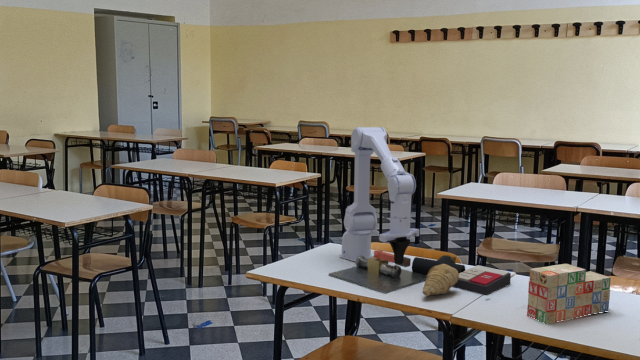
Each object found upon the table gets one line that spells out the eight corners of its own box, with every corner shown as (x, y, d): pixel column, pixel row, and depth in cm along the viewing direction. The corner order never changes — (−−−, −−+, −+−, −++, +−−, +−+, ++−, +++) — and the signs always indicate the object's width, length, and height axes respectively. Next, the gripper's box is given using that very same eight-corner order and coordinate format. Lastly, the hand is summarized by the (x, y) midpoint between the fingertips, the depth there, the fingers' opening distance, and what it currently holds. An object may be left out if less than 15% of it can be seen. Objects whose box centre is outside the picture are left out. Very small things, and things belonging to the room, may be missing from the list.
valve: (328, 275, 179) (328, 259, 178) (375, 263, 193) (375, 248, 193) (384, 293, 163) (385, 276, 162) (431, 279, 177) (432, 262, 177)
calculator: (450, 275, 170) (477, 262, 181) (450, 289, 171) (476, 276, 182) (486, 283, 163) (511, 270, 174) (486, 299, 163) (510, 284, 174)
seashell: (442, 305, 155) (443, 275, 154) (413, 299, 159) (414, 270, 158) (460, 291, 166) (461, 263, 165) (432, 286, 171) (433, 258, 170)
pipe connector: (427, 250, 191) (473, 257, 183) (426, 266, 192) (472, 274, 184) (412, 258, 181) (459, 266, 173) (411, 275, 182) (459, 284, 174)
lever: (372, 257, 181) (372, 250, 181) (378, 256, 183) (378, 249, 183) (404, 267, 171) (405, 259, 171) (410, 265, 173) (411, 258, 173)
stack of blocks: (588, 305, 157) (592, 259, 156) (608, 313, 152) (612, 265, 150) (526, 316, 148) (529, 267, 147) (545, 325, 143) (549, 274, 141)
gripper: (392, 221, 163) (391, 270, 165) (428, 216, 173) (426, 262, 174) (374, 217, 169) (373, 264, 171) (409, 212, 178) (407, 257, 180)
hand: (398, 263), depth 173 cm, fingers closed, pressing on lever
